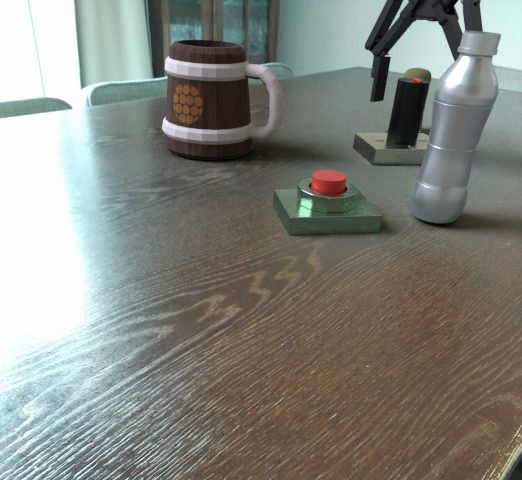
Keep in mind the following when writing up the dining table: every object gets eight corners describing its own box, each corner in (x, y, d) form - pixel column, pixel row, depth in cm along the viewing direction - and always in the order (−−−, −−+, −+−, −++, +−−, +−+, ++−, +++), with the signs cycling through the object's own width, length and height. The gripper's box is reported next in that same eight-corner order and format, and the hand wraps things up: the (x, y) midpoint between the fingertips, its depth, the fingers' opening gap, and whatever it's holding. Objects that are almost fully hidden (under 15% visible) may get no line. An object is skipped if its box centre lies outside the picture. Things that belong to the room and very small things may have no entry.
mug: (145, 152, 78) (135, 42, 69) (189, 132, 90) (186, 35, 81) (262, 173, 73) (268, 57, 64) (293, 148, 85) (302, 47, 76)
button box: (354, 204, 65) (359, 174, 63) (379, 233, 58) (386, 199, 56) (272, 206, 63) (274, 174, 61) (288, 235, 56) (291, 201, 54)
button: (338, 184, 60) (340, 169, 59) (349, 195, 57) (351, 180, 56) (307, 184, 60) (308, 169, 59) (316, 196, 57) (317, 181, 56)
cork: (424, 135, 97) (439, 71, 90) (394, 133, 97) (407, 70, 90) (416, 127, 102) (430, 66, 95) (388, 126, 102) (399, 65, 95)
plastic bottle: (463, 232, 60) (525, 38, 47) (406, 226, 60) (453, 32, 48) (455, 213, 65) (510, 32, 53) (403, 207, 65) (445, 27, 53)
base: (420, 147, 90) (424, 132, 88) (446, 164, 82) (451, 148, 80) (352, 147, 87) (355, 131, 86) (373, 165, 80) (376, 147, 78)
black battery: (382, 136, 85) (393, 74, 79) (409, 136, 85) (422, 75, 80) (393, 144, 81) (406, 80, 75) (421, 144, 82) (436, 81, 76)
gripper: (356, -63, 73) (337, 97, 85) (518, -65, 58) (466, 128, 71) (388, -59, 77) (365, 93, 89) (547, -60, 62) (492, 121, 75)
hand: (409, 109), depth 80 cm, fingers open, 13 cm apart
